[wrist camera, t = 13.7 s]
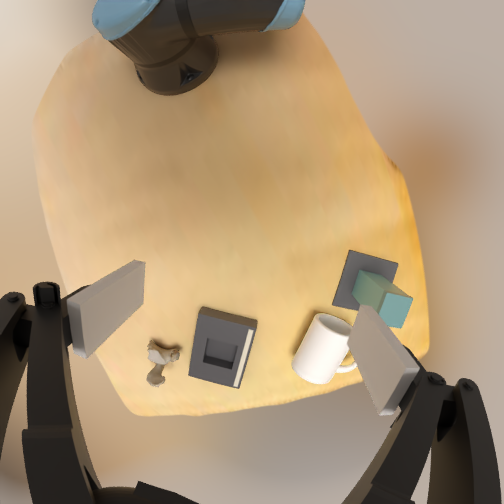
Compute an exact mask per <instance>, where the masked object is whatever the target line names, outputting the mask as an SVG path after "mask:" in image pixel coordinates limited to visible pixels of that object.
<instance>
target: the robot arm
mask: <svg viewBox="0 0 504 504" xmlns="http://www.w3.org/2000/svg"><path fill="white" fill-rule="evenodd" d="M304 5H305V0H98V1H97V3H96V5H95V7H94V10H93V13H92V22H93V25H94V26H95V28H96V29H97V30H98V31H99V32H100V33H101V34H102V36H103V38H104V39H106V40H108V41H109V42H110V43H112V44H113V45H114V46H115V47H116V48H118V49H119V50H120V51H121V52H122V53H124V54H125V55H126V56H127V57H128V58H130V59H131V60H132V61H133V62H134V64H135V68H136V70H137V75H138V77H139V79H140V81H141V82H142V83H143V85H145V86H146V87H147V88H148V89H149V90H151V91H152V92H154V93H157V94H161V95H176V94H181V93H184V92H187V91H189V90H191V89H193V88H195V87H197V86H198V85H200V84H201V83H202V82H204V81H205V80H206V79H207V78H208V77H209V76H210V74H211V73H212V72H213V70H214V69H215V67H216V64H217V61H218V56H219V53H218V47H217V45H216V42H215V40H214V38H213V37H212V36H213V35H220V34H228V33H237V32H249V31H259V32H265V31H268V30H284V29H289V28H291V27H292V26H294V25H295V24H296V23H297V22H298V21H299V19H300V17H301V14H302V12H303V9H304ZM144 278H145V262H141V261H137V260H133V261H132V262H130V263H128V264H126V265H125V266H123V267H121V268H119V269H117V270H116V271H114V272H112V273H110V274H109V275H107V276H105V277H104V278H102V279H100V280H98V281H97V282H95V283H93V284H92V285H87V286H83V287H81V288H79V289H78V290H76V291H74V292H73V293H71V294H69V295H67V296H66V297H64V298H62V299H61V298H60V287H59V285H58V284H56V283H53V282H41V283H38V284H36V285H34V287H33V294H34V301H35V306H32V305H28V304H26V302H25V297H24V295H23V294H22V293H18V292H9V293H8V294H5V295H4V296H3V297H2V298H1V299H0V458H1V452H2V447H3V442H4V437H5V433H6V428H7V424H8V420H9V416H10V413H11V409H12V406H13V402H14V399H15V396H16V393H17V390H18V387H19V384H20V381H21V378H22V376H23V373H24V370H25V367H26V365H27V362H28V367H27V417H28V418H27V419H28V429H24V430H23V431H22V445H23V454H24V461H25V468H26V474H27V479H28V484H29V489H30V493H31V497H32V502H33V504H199V503H196V502H194V501H192V500H190V499H188V498H185V497H183V496H181V495H179V494H177V493H175V492H171V491H168V490H164V489H161V488H158V487H155V486H152V485H149V484H146V483H143V482H141V481H138V483H137V486H136V488H131V487H106V488H102V487H101V485H100V482H99V480H98V478H97V476H96V473H95V471H94V468H93V465H92V462H91V459H90V456H89V453H88V450H87V446H86V443H85V439H84V436H83V432H82V428H81V424H80V420H79V416H78V411H77V406H76V401H75V395H74V390H73V384H72V377H71V370H70V362H69V353H68V348H67V347H68V346H69V345H70V344H71V343H72V344H73V350H74V353H75V354H77V355H79V356H81V357H83V358H85V359H87V358H88V357H89V356H90V355H91V354H92V353H93V352H94V351H95V350H96V349H97V348H98V347H99V346H100V345H101V344H102V343H103V342H104V341H105V340H106V339H107V338H108V337H109V336H110V335H111V334H112V333H113V332H114V331H115V330H116V329H117V328H119V327H120V326H121V325H122V324H123V323H124V322H125V321H126V320H127V319H128V318H129V317H130V316H131V315H132V314H133V313H134V312H135V311H136V310H137V309H138V308H139V307H140V306H141V305H142V304H143V300H144ZM347 345H348V347H349V349H350V351H351V353H352V356H353V358H354V360H355V362H356V364H357V367H358V369H359V371H360V373H361V375H362V378H363V380H364V382H365V384H366V387H367V389H368V391H369V394H370V396H371V398H372V401H373V403H374V405H375V407H376V410H377V412H378V415H392V414H393V413H394V411H395V410H396V408H397V406H398V405H399V407H400V408H401V412H400V414H399V415H398V417H397V418H396V420H395V421H394V422H393V424H392V425H391V427H390V428H391V430H390V432H389V434H388V435H387V437H386V439H385V441H384V443H383V444H382V446H381V448H380V449H379V451H378V453H377V454H376V456H375V457H374V459H373V461H372V462H371V464H370V465H369V467H368V468H367V470H366V471H365V473H364V474H363V476H362V477H361V479H360V480H359V481H358V483H357V484H356V486H355V487H354V488H353V490H352V491H351V492H350V494H349V495H348V496H347V497H346V499H345V500H344V501H343V503H342V504H415V502H414V501H412V500H410V499H411V496H412V494H413V492H414V490H415V487H416V485H417V483H418V480H419V478H420V476H421V473H422V470H423V468H424V465H425V462H426V460H427V457H428V454H429V451H430V448H431V471H430V482H429V492H428V500H427V504H501V489H500V479H499V471H498V464H497V458H496V452H495V447H494V443H493V438H492V434H491V429H490V425H489V421H488V418H487V414H486V411H485V407H484V404H483V401H482V397H481V395H480V391H479V389H478V386H477V385H476V384H475V383H474V382H473V381H472V380H470V379H466V378H461V379H459V381H458V382H457V384H456V386H449V385H446V381H445V380H444V378H442V376H440V375H438V374H437V373H434V372H426V370H425V369H424V367H423V366H422V365H421V363H420V362H419V361H417V358H416V357H415V356H414V354H413V353H412V352H411V351H410V349H408V348H407V347H406V346H404V345H402V344H401V342H400V341H399V340H398V338H397V337H396V336H395V335H394V333H393V332H392V331H391V330H390V328H389V327H388V326H387V325H386V323H385V322H384V321H383V320H382V318H381V317H380V316H379V315H378V313H377V312H376V311H375V310H374V309H373V307H372V306H368V305H360V308H359V311H358V314H357V317H356V319H355V322H354V325H353V328H352V330H351V333H350V336H349V339H348V341H347Z"/></svg>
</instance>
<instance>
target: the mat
mask: <svg viewBox="0 0 504 504" xmlns="http://www.w3.org/2000/svg"><path fill="white" fill-rule="evenodd" d="M397 267H398V263H394V262H391V261H387V260H384V259H380V258H377V257H373V256H369V255H366V254H362V253H358V252H355V251H351V250H349V253H348V256H347V260H346V263H345V266H344V270H343V273H342V276H341V279H340V282H339V285H338V288H337V291H336V294H335V297H334V300H333V303H332V305H333V306H338V307H342V308H347V309H352V310H357V311H359V308H360V304H359V303H358V301H357V300H356V299H355V298H354V296H353V295H352V291H353V288H354V285H355V282H356V279H357V276H358V273H359V270H363V271H367V272H371V273H375V274H379V275H382V276H383V277H384V278H386V279H387V280H389V281H390V282H391V283H393V280H394V277H395V274H396V270H397Z"/></svg>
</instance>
